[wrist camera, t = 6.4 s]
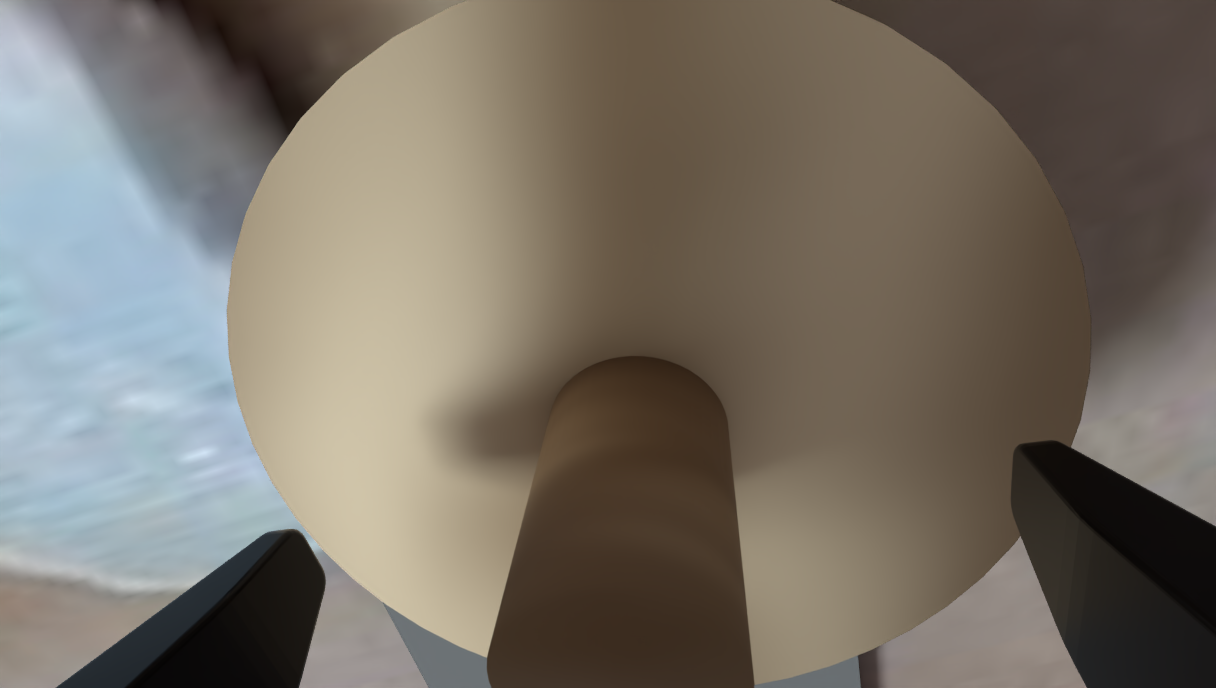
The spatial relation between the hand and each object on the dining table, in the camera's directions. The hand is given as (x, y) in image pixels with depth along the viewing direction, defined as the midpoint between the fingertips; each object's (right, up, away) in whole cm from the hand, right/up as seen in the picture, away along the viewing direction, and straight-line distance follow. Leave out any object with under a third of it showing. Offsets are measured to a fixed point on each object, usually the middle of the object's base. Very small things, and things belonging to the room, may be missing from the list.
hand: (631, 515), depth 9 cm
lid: (0, +1, +2) cm, 2 cm away
